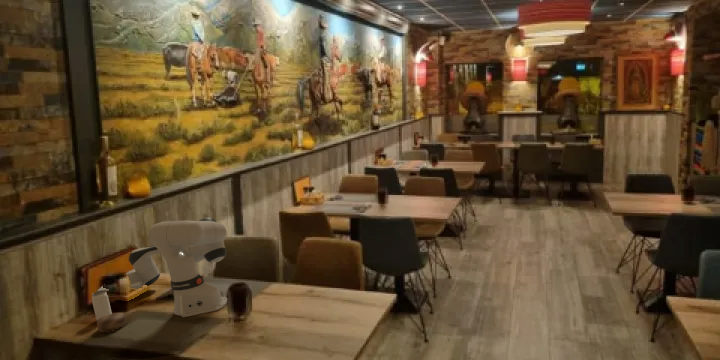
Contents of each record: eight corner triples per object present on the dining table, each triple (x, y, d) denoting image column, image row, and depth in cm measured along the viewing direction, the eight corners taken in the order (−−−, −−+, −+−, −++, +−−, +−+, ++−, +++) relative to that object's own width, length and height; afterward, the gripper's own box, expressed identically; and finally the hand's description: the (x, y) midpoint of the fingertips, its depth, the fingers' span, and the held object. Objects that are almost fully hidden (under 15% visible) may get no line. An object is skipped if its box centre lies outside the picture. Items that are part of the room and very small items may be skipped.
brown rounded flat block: (131, 319, 244) (129, 311, 244) (120, 330, 233) (118, 321, 233) (105, 323, 245) (103, 314, 244) (93, 334, 234) (91, 325, 233)
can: (106, 321, 247) (100, 295, 246) (93, 322, 249) (87, 296, 247) (115, 315, 254) (109, 289, 252) (103, 316, 255) (97, 290, 253)
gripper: (148, 288, 276) (137, 298, 262) (106, 294, 276) (93, 304, 263) (145, 275, 275) (134, 285, 261) (104, 281, 276) (90, 291, 262)
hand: (113, 295), depth 262 cm, fingers open, 8 cm apart
